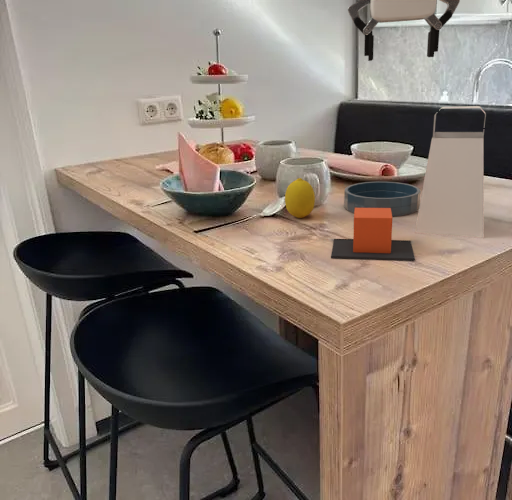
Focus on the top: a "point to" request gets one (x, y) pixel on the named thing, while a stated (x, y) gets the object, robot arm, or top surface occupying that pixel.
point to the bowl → (383, 197)
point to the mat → (398, 252)
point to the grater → (453, 185)
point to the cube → (372, 230)
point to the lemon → (299, 198)
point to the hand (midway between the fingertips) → (400, 58)
